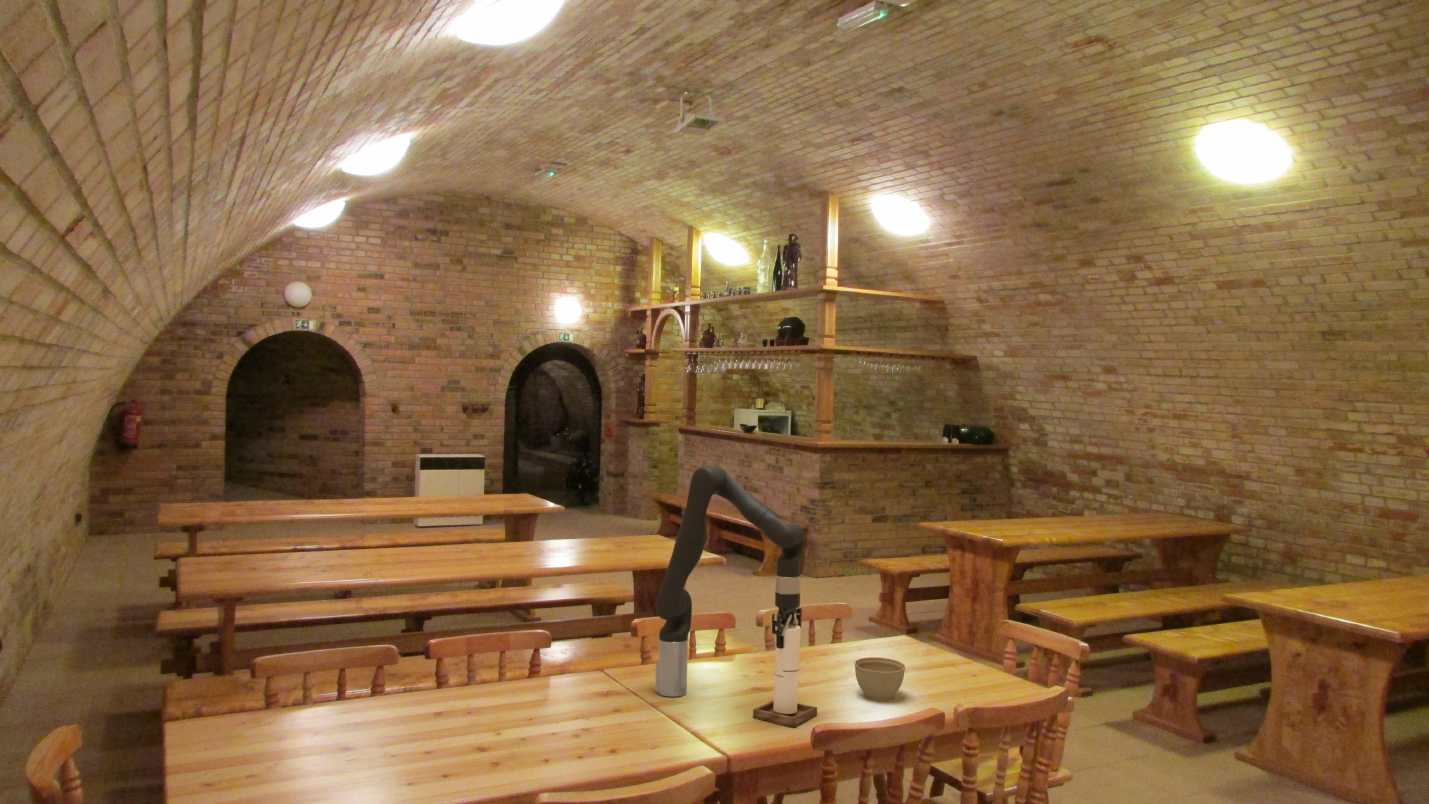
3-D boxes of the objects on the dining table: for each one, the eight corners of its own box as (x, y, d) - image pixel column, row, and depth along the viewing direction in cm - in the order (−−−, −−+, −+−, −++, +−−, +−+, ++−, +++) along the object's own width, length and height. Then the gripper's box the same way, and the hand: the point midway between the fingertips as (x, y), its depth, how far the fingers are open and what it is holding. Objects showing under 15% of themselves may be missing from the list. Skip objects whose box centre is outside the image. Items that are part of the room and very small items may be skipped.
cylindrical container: (795, 714, 286) (799, 630, 286) (771, 712, 288) (775, 628, 287) (798, 707, 293) (801, 625, 293) (774, 705, 295) (777, 623, 294)
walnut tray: (753, 717, 288) (753, 709, 288) (776, 706, 300) (777, 698, 300) (794, 727, 280) (794, 718, 280) (817, 715, 292) (817, 707, 292)
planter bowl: (848, 701, 307) (849, 667, 307) (860, 687, 322) (861, 654, 322) (898, 708, 301) (899, 674, 301) (908, 694, 316) (909, 661, 316)
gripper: (788, 585, 299) (787, 639, 298) (764, 592, 287) (763, 648, 287) (810, 588, 294) (808, 643, 294) (786, 595, 283) (785, 652, 282)
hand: (786, 645), depth 290 cm, fingers closed on cylindrical container, 7 cm apart
